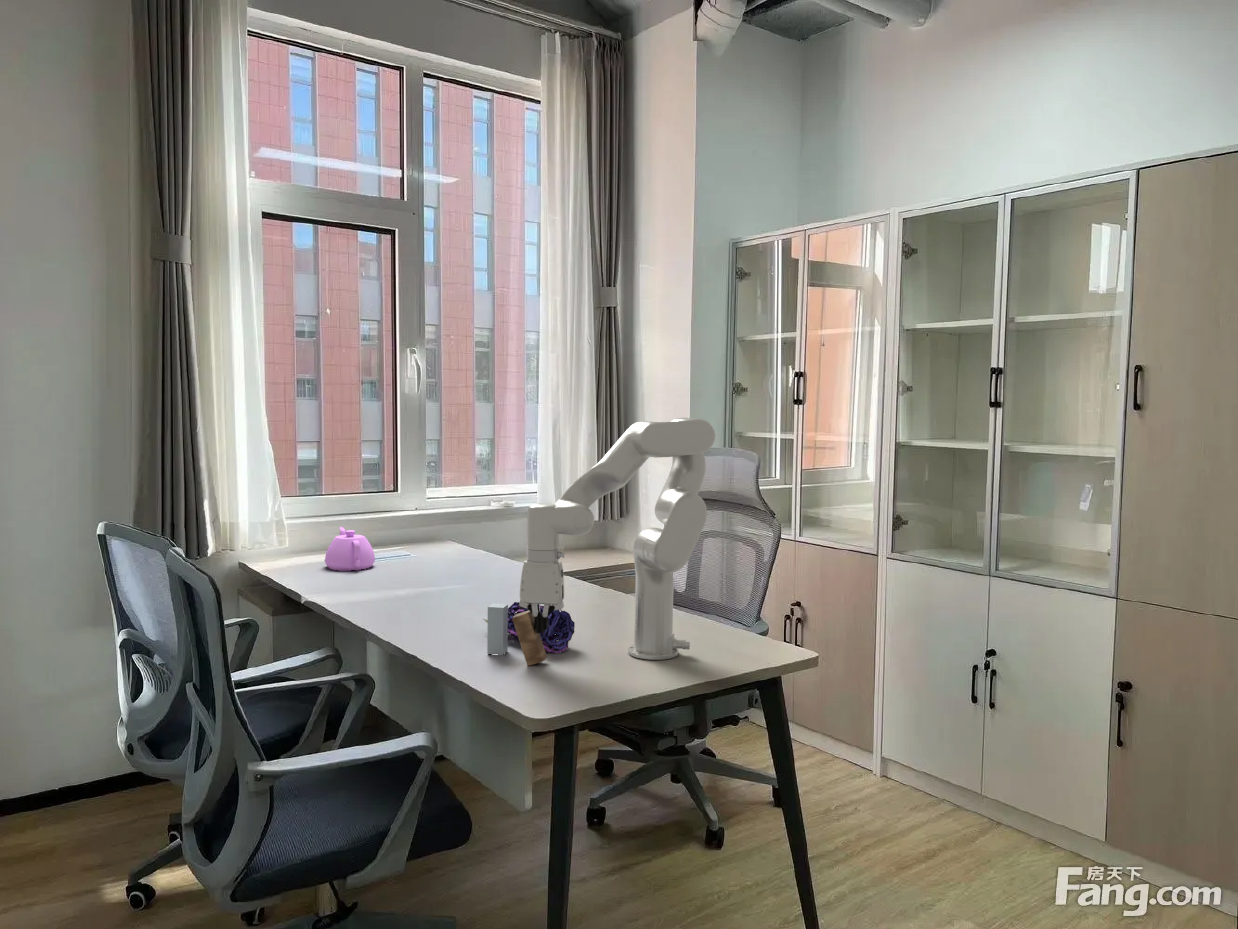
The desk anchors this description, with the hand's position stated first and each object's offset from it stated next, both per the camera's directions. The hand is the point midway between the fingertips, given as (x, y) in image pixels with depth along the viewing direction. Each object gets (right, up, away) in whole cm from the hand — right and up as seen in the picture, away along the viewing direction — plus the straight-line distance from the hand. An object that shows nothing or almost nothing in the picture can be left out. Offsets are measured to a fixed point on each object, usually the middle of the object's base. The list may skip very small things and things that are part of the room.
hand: (540, 632), depth 218 cm
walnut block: (-1, -7, +1) cm, 7 cm away
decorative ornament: (-6, -7, +21) cm, 23 cm away
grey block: (-12, -7, +10) cm, 17 cm away
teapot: (-81, +2, +121) cm, 145 cm away
